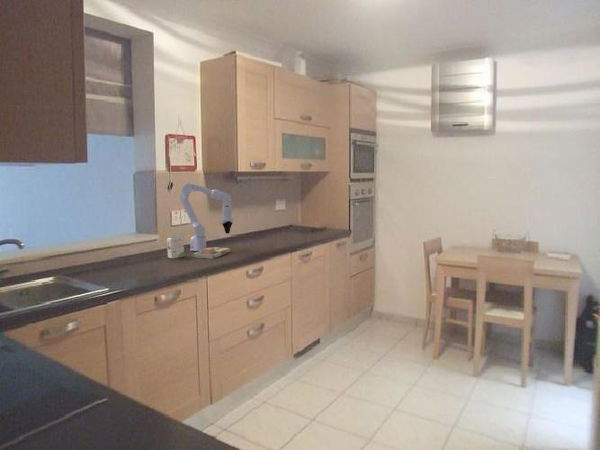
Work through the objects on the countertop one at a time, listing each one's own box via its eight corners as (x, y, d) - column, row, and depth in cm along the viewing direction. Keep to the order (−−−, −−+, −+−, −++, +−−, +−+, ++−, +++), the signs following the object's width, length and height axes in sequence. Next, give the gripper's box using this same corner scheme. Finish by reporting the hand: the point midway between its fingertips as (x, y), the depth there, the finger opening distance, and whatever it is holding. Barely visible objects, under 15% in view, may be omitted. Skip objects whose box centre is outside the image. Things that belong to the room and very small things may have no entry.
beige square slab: (202, 254, 273) (202, 250, 272) (212, 250, 284) (211, 247, 284) (220, 255, 269) (220, 251, 268) (230, 252, 280) (230, 248, 279)
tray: (192, 257, 264) (192, 253, 263) (201, 254, 273) (201, 250, 272) (213, 258, 259) (213, 255, 259) (221, 255, 268) (221, 252, 268)
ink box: (180, 255, 270) (179, 231, 268) (184, 256, 266) (183, 232, 264) (167, 257, 264) (166, 232, 262) (171, 258, 260) (170, 233, 258)
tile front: (201, 256, 264) (201, 253, 264) (205, 254, 269) (205, 251, 269) (208, 256, 263) (208, 253, 262) (213, 255, 267) (213, 252, 267)
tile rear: (202, 252, 266) (202, 249, 266) (207, 250, 271) (207, 247, 270) (210, 252, 264) (210, 249, 264) (214, 251, 269) (214, 248, 269)
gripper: (227, 213, 279) (227, 235, 281) (237, 211, 293) (238, 232, 294) (217, 213, 281) (217, 234, 283) (228, 211, 295) (228, 231, 297)
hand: (227, 233), depth 289 cm, fingers closed
